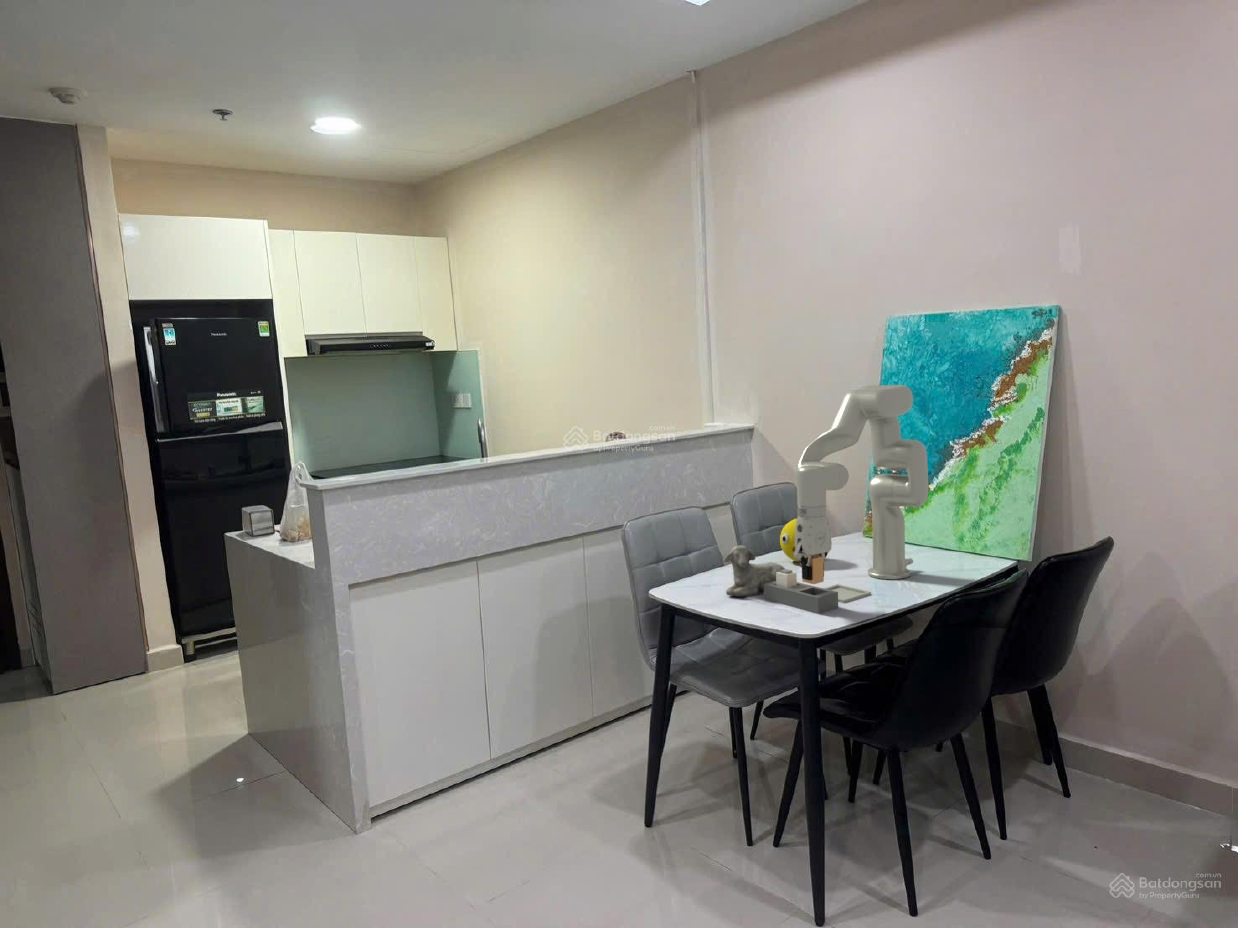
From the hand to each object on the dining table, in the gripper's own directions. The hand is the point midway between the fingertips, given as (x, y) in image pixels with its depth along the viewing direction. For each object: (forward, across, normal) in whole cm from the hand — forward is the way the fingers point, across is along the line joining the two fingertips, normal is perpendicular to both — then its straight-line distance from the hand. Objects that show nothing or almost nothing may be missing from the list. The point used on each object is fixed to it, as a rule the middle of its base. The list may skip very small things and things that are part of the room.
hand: (813, 577), depth 223 cm
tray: (+9, +15, +3) cm, 18 cm away
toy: (+9, +38, +38) cm, 54 cm away
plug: (+1, 0, 0) cm, 1 cm away
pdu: (+9, 0, +5) cm, 10 cm away
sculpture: (+9, +2, +22) cm, 24 cm away
